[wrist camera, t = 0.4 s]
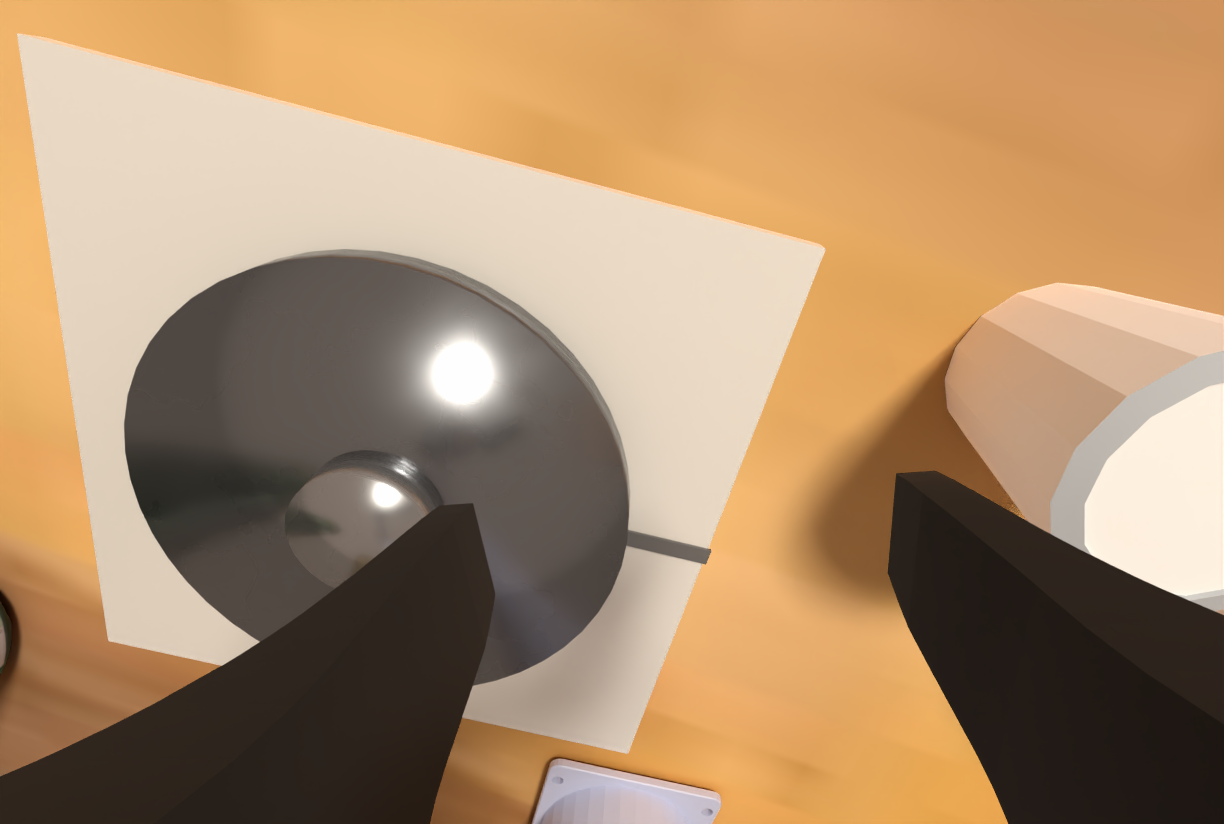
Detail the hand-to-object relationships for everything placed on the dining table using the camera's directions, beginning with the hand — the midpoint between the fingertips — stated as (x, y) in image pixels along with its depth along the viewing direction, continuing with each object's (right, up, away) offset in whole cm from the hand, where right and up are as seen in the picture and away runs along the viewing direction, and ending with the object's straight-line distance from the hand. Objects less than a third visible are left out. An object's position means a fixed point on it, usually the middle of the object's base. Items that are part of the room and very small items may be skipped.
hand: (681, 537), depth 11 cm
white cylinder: (+12, +4, +9) cm, 15 cm away
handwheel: (-9, 0, +10) cm, 13 cm away
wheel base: (-8, 0, +11) cm, 14 cm away
